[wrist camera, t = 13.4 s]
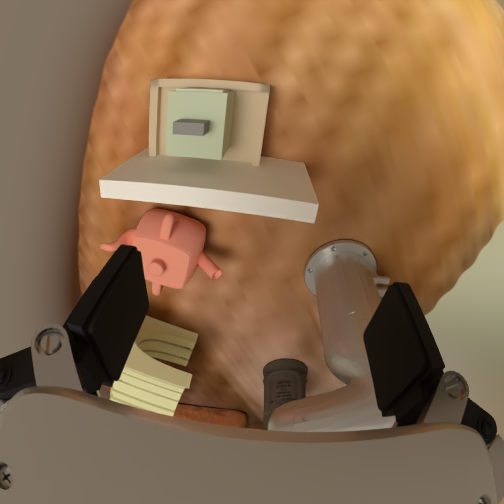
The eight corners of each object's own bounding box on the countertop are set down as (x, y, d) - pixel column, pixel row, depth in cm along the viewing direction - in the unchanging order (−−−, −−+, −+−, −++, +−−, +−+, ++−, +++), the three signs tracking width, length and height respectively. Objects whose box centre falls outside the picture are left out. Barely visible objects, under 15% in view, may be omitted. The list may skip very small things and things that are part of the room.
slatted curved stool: (132, 282, 52) (94, 353, 37) (208, 309, 54) (188, 388, 39) (127, 356, 68) (106, 411, 53) (181, 376, 70) (167, 433, 56)
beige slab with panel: (317, 93, 31) (342, 98, 20) (301, 176, 38) (314, 223, 26) (152, 79, 31) (96, 84, 20) (149, 159, 38) (101, 197, 26)
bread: (167, 399, 81) (157, 439, 68) (247, 408, 80) (243, 452, 67) (176, 414, 89) (168, 450, 76) (247, 423, 87) (244, 461, 75)
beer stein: (255, 361, 63) (251, 440, 47) (299, 352, 60) (303, 436, 44) (276, 386, 71) (275, 453, 56) (314, 379, 68) (318, 448, 53)
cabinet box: (235, 89, 29) (223, 91, 22) (229, 147, 33) (217, 166, 26) (185, 87, 28) (159, 89, 22) (182, 143, 33) (157, 162, 26)
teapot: (199, 185, 40) (179, 216, 32) (230, 250, 46) (220, 292, 38) (126, 214, 43) (96, 248, 35) (159, 269, 49) (139, 309, 41)
